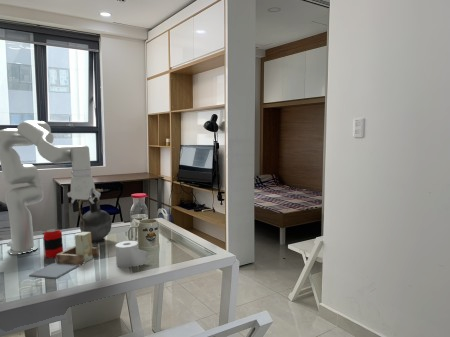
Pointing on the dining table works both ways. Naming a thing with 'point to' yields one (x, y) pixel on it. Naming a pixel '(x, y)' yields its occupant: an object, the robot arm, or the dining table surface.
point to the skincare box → (84, 245)
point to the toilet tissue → (129, 254)
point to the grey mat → (54, 270)
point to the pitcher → (95, 222)
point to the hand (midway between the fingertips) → (85, 211)
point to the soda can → (53, 242)
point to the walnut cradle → (74, 256)
